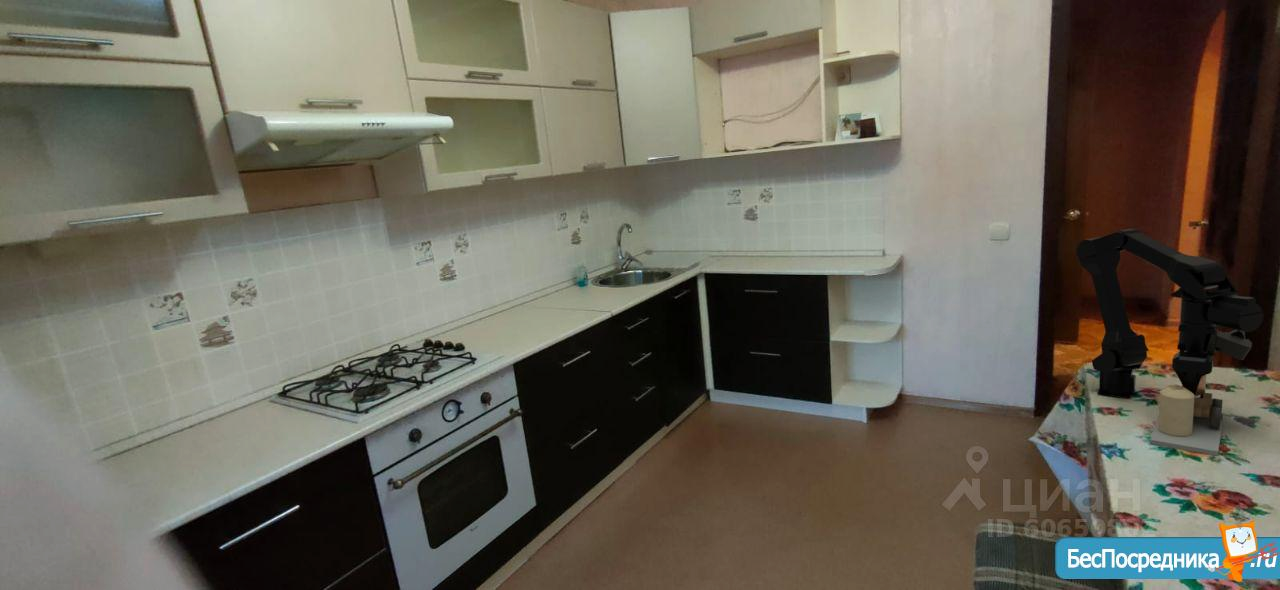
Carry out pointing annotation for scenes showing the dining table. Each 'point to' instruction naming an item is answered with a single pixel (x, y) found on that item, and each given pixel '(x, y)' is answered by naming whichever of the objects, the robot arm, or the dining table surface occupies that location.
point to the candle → (1176, 411)
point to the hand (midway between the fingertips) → (1193, 389)
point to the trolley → (1208, 409)
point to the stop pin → (1200, 387)
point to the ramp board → (1191, 438)
